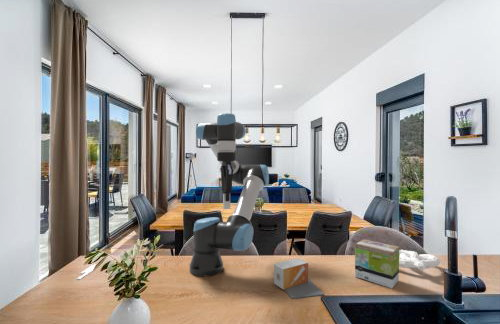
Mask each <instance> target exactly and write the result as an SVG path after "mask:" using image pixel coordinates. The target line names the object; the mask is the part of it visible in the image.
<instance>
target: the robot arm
mask: <svg viewBox="0 0 500 324" xmlns="http://www.w3.org/2000/svg"><path fill="white" fill-rule="evenodd" d="M246 133H247V130H246V127H245V125H244V124H243V123H241V122H240V121H239V122H238V121H236V115H235V114H234V113H229V112H228V113H227V112H225V113H219V114H218V115H217V117H216V122H205V123H204V122H203V123H199V124H198V125H197V126H196V128H195V135H196V137H197V138H198V140H202V141H206V143H207V145H208V146H209V148H210V149H211V151H212V152H213V155H214V156H215V157H216V160H217V162H219V163H220V165H221V166H220V168H219V171H220V178H221V179H220V180H221V191H222V209H223V210H231V193H232V191H233V183H236V184H238V185H243V188H242V191H241V193H240V196H239V197H238V201H237V203H236V205H235V208H234V211H233V213H232V214H231V215H229V216H228V217H227V219H226V221H221V219H220V217H216V216H213V217H211V216H210V217H205V218H200V219H197V220H196V221H195V222H194V224H193V255H192V257H191V260H190V263H189V273H191V274H192V275H194V276H197V277H199V276H200V277H209V276H214V275H218V274H220V273H221V272H222V271H223V270H224V262H223V259H222V257H221V253H220V250H231V251H235V252H238V251H240V252H244V251H247V250H248V249H249V248H250V246H251V245H252V242H253V238H254V227H253V225H252V222H251V219H252V215H253V212H254V209H255V205H256V202H257V199H258V197H259V193H260V191H262V190H263V189H264V186H265V187H266V186H268V185H269V183H270V176H269V174H270V173H269V169H268V166H267V165H266V164H240V163H239V162H238V161H237V160H236V159H237V158H236V157H237V155H236V154H237V153H236V152H235V151H237V150H236V149H237V146H236V144H237V143H236V140H241V139H243V138H244V137H245V136H246Z"/></svg>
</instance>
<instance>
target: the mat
mask: <svg viewBox="0 0 500 324" xmlns="http://www.w3.org/2000/svg"><path fill="white" fill-rule="evenodd" d="M284 291H285V292H286V294H287V295H288V296H289V298H290V299H301V298H302V299H303V298H309V297H310V298H311V297H318V296H325V293H324V292H323V291H322V290H321V289H320V288H319V287H318V286H317V285H316V284H315V283H314V282H313V281H312V280H311V279H310V278H309V277H308V282H306V283H303V284H300V285H296V286H293V287H290V288H287V289H284Z"/></svg>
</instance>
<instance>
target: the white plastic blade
mask: <svg viewBox="0 0 500 324" xmlns="http://www.w3.org/2000/svg"><path fill="white" fill-rule="evenodd" d="M95 265H96V264H92V265H90V266H88V267H87V268H85V269H84V270H83V271H81V272H79V273H78V275H79V274H80V276H78V277H77V278H75V279H76V280H82V279H83V278H85V277H86V276H88V275H89V274H91V273H92V272H94V271H93V269H94V267H95Z"/></svg>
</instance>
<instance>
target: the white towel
mask: <svg viewBox="0 0 500 324" xmlns="http://www.w3.org/2000/svg"><path fill="white" fill-rule="evenodd" d="M440 263H441V260H440V258H439V257H437V256H435V255H433V254H430V253H429V254H427V253H426V254H425V253H423V254H421V253H420V254H418V252H417V251H414V250H413V251H412V250H408V249H406V250H404V249H399V268H406V269H408V268H409V269H419V270H421V271H424V270H426V269H428V268H429V269H430V268H436V267H437V266H439V265H440Z"/></svg>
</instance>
